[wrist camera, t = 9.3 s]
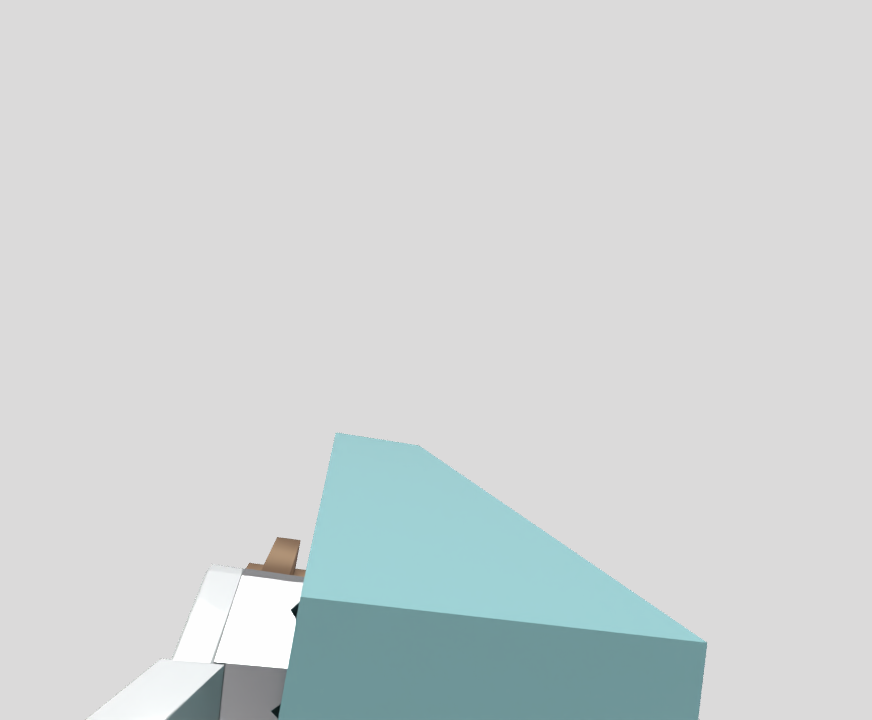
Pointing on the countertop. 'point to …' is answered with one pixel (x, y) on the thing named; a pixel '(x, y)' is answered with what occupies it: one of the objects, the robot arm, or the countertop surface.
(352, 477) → the rod
